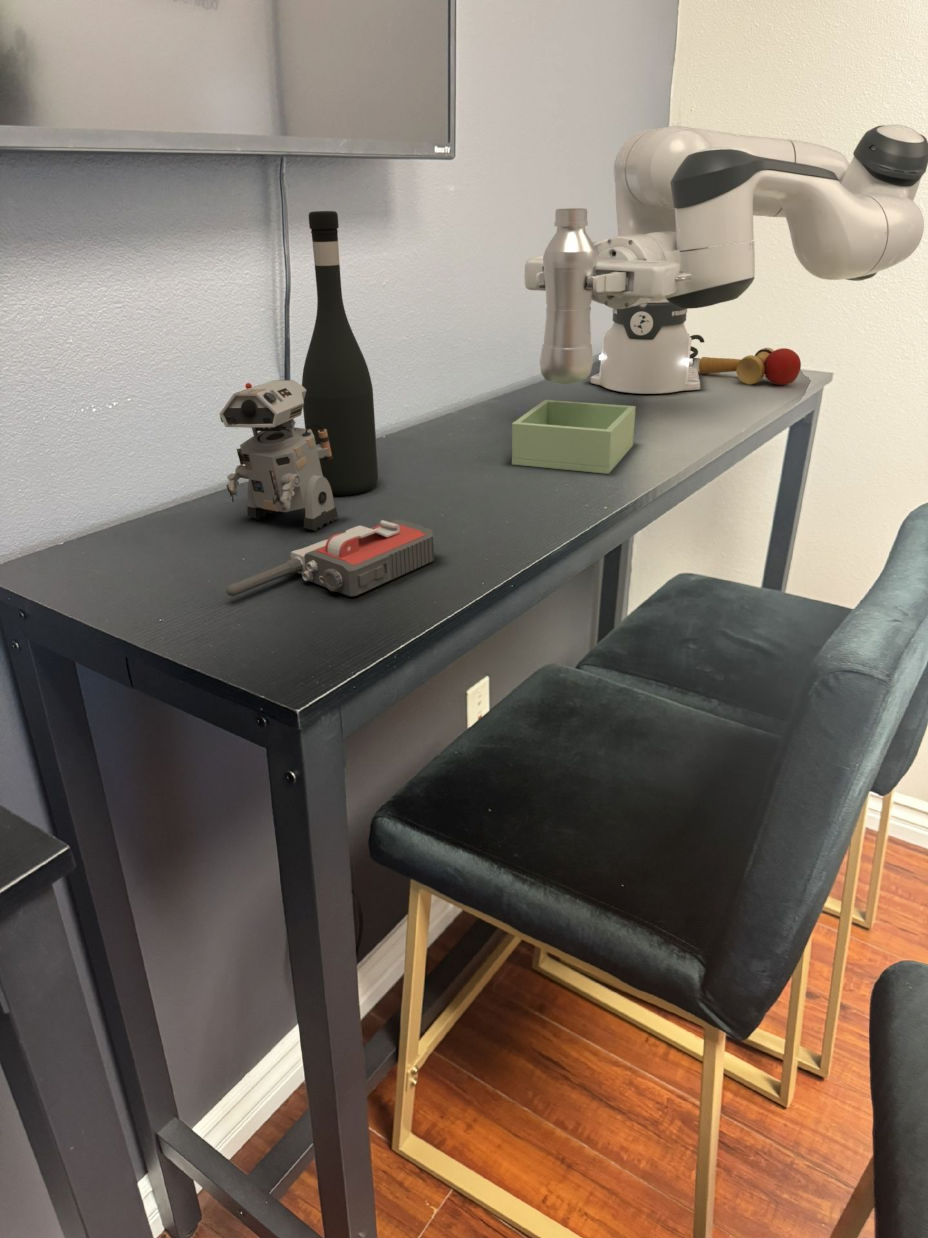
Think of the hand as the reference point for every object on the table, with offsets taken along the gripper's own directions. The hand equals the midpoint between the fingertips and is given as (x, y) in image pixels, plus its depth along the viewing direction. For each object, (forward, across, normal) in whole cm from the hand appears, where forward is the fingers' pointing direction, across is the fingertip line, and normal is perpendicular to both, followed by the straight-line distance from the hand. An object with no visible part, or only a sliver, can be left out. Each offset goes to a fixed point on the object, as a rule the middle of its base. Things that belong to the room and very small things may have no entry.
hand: (564, 282), depth 107 cm
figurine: (+39, +9, -21) cm, 46 cm away
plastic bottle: (-1, 0, -12) cm, 12 cm away
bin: (-2, -1, -21) cm, 21 cm away
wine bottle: (+26, +13, -21) cm, 36 cm away
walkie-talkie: (+45, -7, -21) cm, 50 cm away
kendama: (-58, 0, -22) cm, 62 cm away
